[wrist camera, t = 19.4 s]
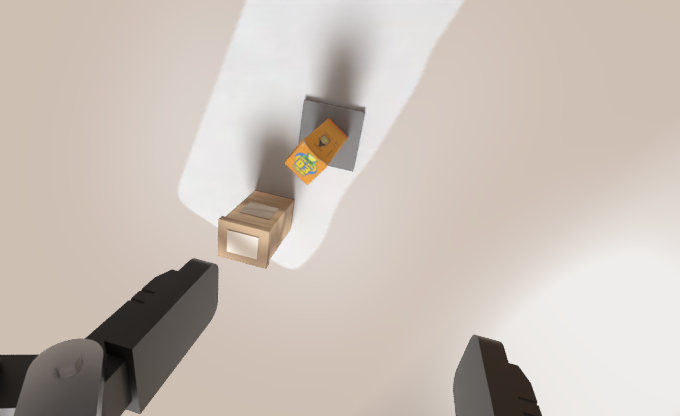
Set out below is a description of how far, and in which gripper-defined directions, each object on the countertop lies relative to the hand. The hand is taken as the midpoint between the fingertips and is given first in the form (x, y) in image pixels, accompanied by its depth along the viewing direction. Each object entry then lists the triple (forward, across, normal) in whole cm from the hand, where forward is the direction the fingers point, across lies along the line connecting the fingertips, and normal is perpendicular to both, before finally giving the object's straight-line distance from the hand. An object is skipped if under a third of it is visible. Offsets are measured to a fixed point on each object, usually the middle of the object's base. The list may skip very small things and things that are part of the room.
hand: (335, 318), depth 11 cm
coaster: (+32, +7, +3) cm, 33 cm away
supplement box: (+32, +7, +3) cm, 33 cm away
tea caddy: (+32, +13, +14) cm, 38 cm away
